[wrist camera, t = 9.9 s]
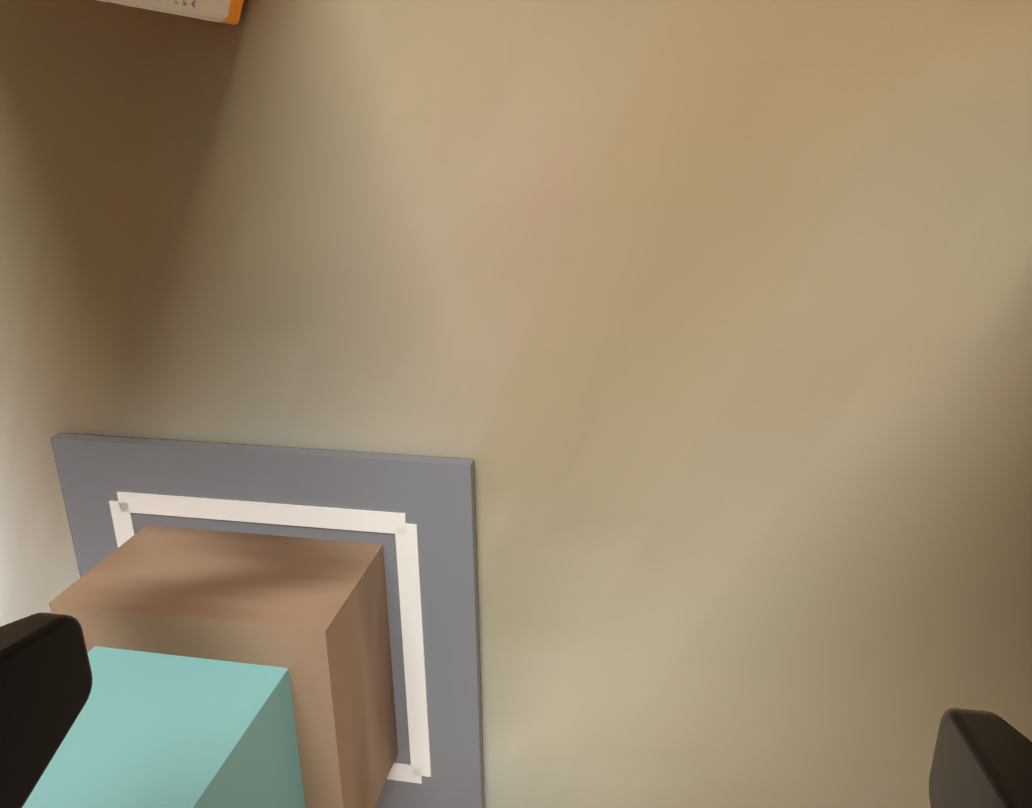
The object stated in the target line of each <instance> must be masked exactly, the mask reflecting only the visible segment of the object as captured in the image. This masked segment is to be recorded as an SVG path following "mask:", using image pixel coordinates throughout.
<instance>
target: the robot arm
mask: <svg viewBox="0 0 1032 808" xmlns="http://www.w3.org/2000/svg"><path fill="white" fill-rule="evenodd" d="M92 681H93V677H92V671H91V666H90V662H89V657H88V653H87V648H86V643H85V639H84V634H83V630H82V627H81V624H80V623H79V621H78V620H77V619H76V618H74V617H72V616H70V615H62V614H53V613H37V614H33V615H30V616H28V617H25V618H22V619H20V620H17V621H14V622H12V623H9V624H7V625H4V626H1V627H0V808H22V807H23V806H24V804H25V802H26V801H27V799H28V797H29V796H30V794H31V793H32V791H33V789H34V788H35V786H36V784H37V783H38V781H39V779H40V778H41V776H42V774H43V773H44V771H45V770H46V768H47V766H48V765H49V763H50V761H51V760H52V758H53V756H54V755H55V753H56V751H57V750H58V748H59V747H60V745H61V743H62V742H63V740H64V738H65V737H66V735H67V733H68V732H69V730H70V728H71V727H72V725H73V724H74V722H75V720H76V719H77V717H78V715H79V714H80V712H81V710H82V709H83V707H84V705H85V704H86V702H87V700H88V698H89V695H90V693H91V689H92ZM929 797H930V805H931V808H1032V742H1031V741H1030V740H1029V739H1027V738H1026V737H1025V736H1024V735H1022V734H1021V733H1020V732H1019V731H1017V730H1016V729H1015V728H1013V727H1012V726H1011V725H1010V724H1008V723H1007V722H1006V721H1005V720H1003V719H1002V718H1001V717H999V716H998V715H996V714H994V713H991V712H986V711H976V710H967V709H957V708H951V709H949V710H947V711H946V712H945V713H944V715H943V717H942V718H941V722H940V726H939V731H938V736H937V741H936V746H935V751H934V757H933V762H932V767H931V772H930V778H929Z"/></svg>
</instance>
